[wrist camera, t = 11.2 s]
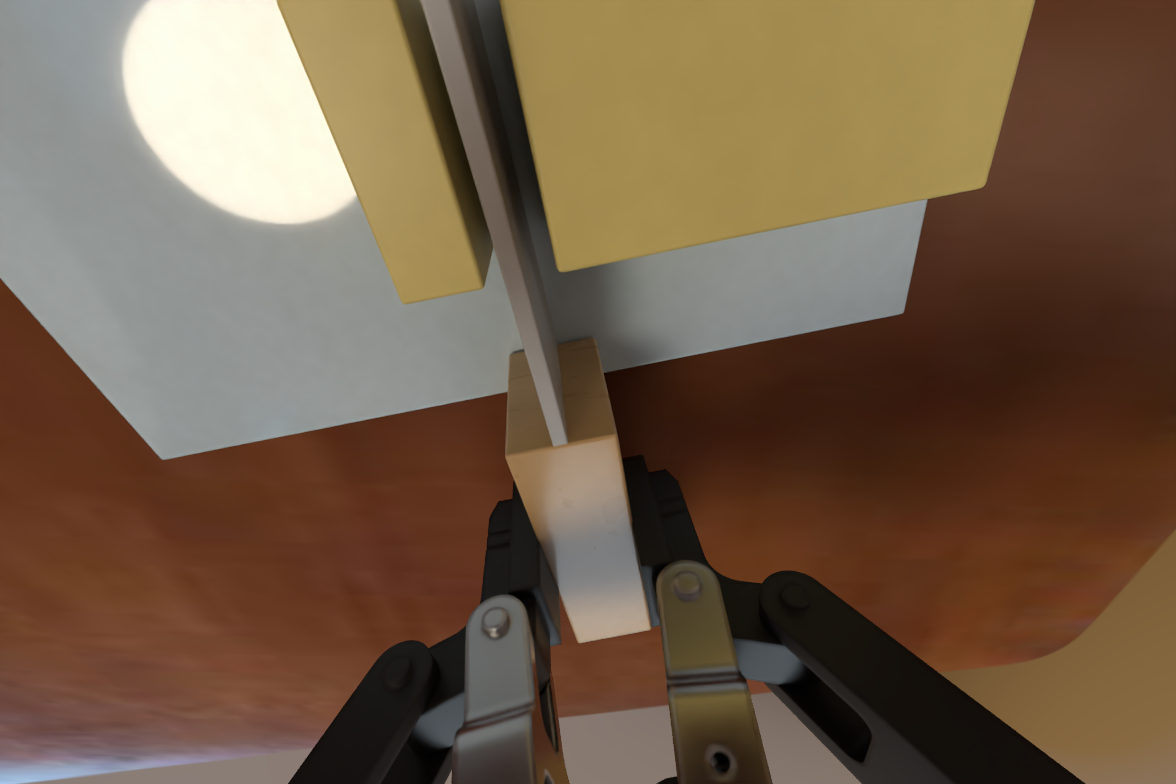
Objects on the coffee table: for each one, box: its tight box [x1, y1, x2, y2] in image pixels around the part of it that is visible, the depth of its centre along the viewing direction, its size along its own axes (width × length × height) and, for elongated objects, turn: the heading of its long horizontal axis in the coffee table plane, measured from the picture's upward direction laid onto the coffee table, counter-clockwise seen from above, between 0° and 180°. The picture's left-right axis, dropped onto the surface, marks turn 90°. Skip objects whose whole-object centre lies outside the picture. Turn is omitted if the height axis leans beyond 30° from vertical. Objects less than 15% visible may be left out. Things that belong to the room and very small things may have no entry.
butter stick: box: [499, 0, 1035, 272], centre depth 8 cm, size 4×7×3 cm, turn 100°
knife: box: [421, 0, 651, 643], centre depth 10 cm, size 17×2×4 cm, turn 10°
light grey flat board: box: [0, 0, 928, 460], centre depth 10 cm, size 12×20×1 cm, turn 100°
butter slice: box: [277, 0, 494, 304], centre depth 8 cm, size 4×1×3 cm, turn 10°
